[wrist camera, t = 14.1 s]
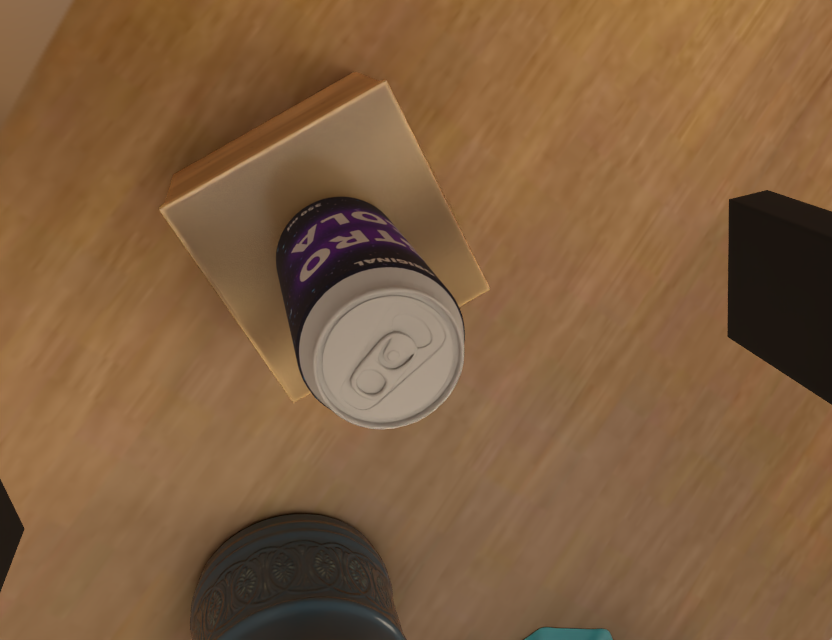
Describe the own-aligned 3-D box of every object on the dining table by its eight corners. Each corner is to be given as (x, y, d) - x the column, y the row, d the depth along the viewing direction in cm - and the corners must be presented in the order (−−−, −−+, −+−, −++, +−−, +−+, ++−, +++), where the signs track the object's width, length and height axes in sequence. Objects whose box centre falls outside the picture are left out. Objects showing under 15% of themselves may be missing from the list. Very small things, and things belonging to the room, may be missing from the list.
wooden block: (169, 173, 39) (158, 209, 32) (355, 68, 39) (386, 79, 32) (281, 340, 44) (293, 403, 37) (446, 245, 44) (490, 289, 37)
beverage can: (421, 241, 35) (511, 341, 24) (346, 333, 36) (400, 469, 25) (327, 166, 33) (379, 238, 22) (248, 265, 34) (261, 383, 23)
